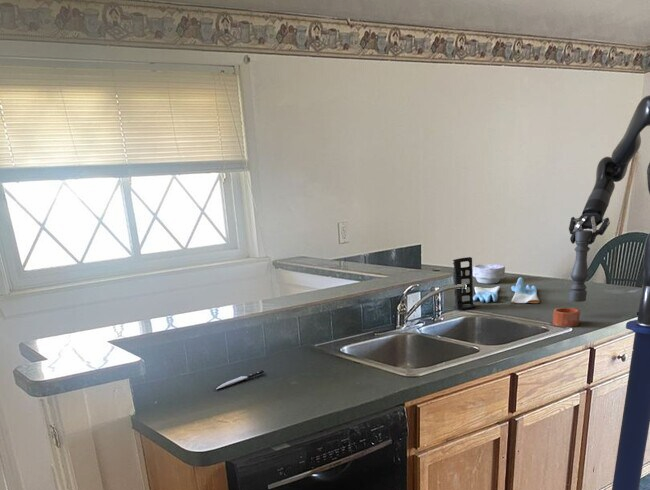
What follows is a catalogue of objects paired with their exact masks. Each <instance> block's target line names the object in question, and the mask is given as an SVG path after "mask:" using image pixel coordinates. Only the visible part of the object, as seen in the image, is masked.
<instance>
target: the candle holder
mask: <svg viewBox="0 0 650 490" xmlns="http://www.w3.org/2000/svg"><path fill="white" fill-rule="evenodd" d="M591 233H593V230H592V229H584V230H579V231H576V233H575V243H574V244H575V245H576V246H575V248H574V251H575V260H574V264H573V267H572V270H571V272H570V278H571V280H572V284H571V286H569V288H570V290H569V291H568V301H570V302H575V303H580V302H581V303H583V302H586V301H587V293H588V291H587V290H586V289H587V286H586V281H587V279H588V278H589V269H588V267H589V266H588V252H589V251H590V250H591V248H590V247H589V245H590V244H589V242H588V241H589V238H590V236H591Z"/></svg>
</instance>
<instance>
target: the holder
mask: <svg viewBox="0 0 650 490" xmlns="http://www.w3.org/2000/svg"><path fill="white" fill-rule="evenodd" d="M452 261H453V262H452V264H453V282H454V286H455V285H457V284H462V280H469V283H465V284H466V285H467V287H466V289H463V288H462V289H455V288H454V300H455V301H454V303H455V305H454V306H455V307H454V308H455V309H457V311H463V310H468V309H471V308H475V304H474V300H473V296H474V293H473V292H474V290H473V289H474V288H473V285H474V284H473V283H474V282H473V281H474V280H473V257H471V256H468V257H460V258H456V259H452ZM464 262H468V266H463V267H462V263H464ZM466 271H468V272H469V274H467V273H466ZM466 274H467V275H466ZM462 285H463V284H462ZM467 288H469V291H468V292H467ZM468 296H469V300H463V297H468Z"/></svg>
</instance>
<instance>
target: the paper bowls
mask: <svg viewBox="0 0 650 490" xmlns="http://www.w3.org/2000/svg"><path fill="white" fill-rule="evenodd" d="M505 271H506V266H505V265H503V264H495V263H479V264H474V265H472V277H474V278H475V280H476V282H477V283H479V284H481V285H482V284H483V285H484V284H485V285H492V284H493V285H494V284H497V283H499V282H500V280H501V279H502V278H504V277H505V275H506V273H505Z"/></svg>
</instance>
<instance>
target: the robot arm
mask: <svg viewBox="0 0 650 490" xmlns="http://www.w3.org/2000/svg"><path fill="white" fill-rule="evenodd" d="M646 127H650V94H649V95H646V96H644V97H643V98H642V99H641V100H640V101H639V103H637V107H636V108H635V110H634V113H633V115H632V117H631V118H630V121H629V124H628V126H627V128H626V130H625V133H624V134H623V136H622V138H621V140H620V141H619V142H618V144H617V145H616V146H615V148H614V149H613V150H612V153H611V155H610V156H604V157H602V158H601V159H600V160H599V162H598V164H597V166H596V170H595V171H596V172H595V181H594V182H595V183H594V185H593V188H592V190H591V192H590V194H589V196H588V198H587V201H586V203H585V205H584V206H583V207H584V208H583V210H582V213H581V215H580V216H579V217H575V216H572V217H571V218H570V222H569V226H568V232H569V235H571V236H570V238H569V241H570V242H571V244H576V243H575V242H576V241H575V233H576V231H579V230H592V233H591V236H590V238H589V241H588V242H589V245H592V244H594V243H595V241H596V238H597V237H598V236H603V235H604V234H605V232H606V230H607V229H608V227H609V225H610V224H611V221H610V217H605V214H606V211H607V210H608V207H609V205H610V204H609V203H610V201H611V198H612V196H613V193H614V190H615V188H616V184H615V183H618V182H621V181H622V180H623V179H625V176H626V174H627V171H628V168H629V164H630V162H631V161H632V160H633V158H634V157H635V156H636V154H637V153H638V152H639V149H640V147H641V144H642V137H641V132H642V131H644V129H645V128H646ZM646 168H647V169H646V178H647V179H646V181H647V190H648V194H649V195H650V162H649V163H648V165H647V167H646ZM604 217H605V218H604ZM599 225H600V227H598V226H599ZM642 259H643V261H642V268H643V279H642V286H641V293H640V299H639V306H638V311H637V312H636V316H637V319H636V320H637V325H638V326H641V327H646V328H650V232H649V233H648V235H647V237H646V239H645V242H644V249H643V258H642Z"/></svg>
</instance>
